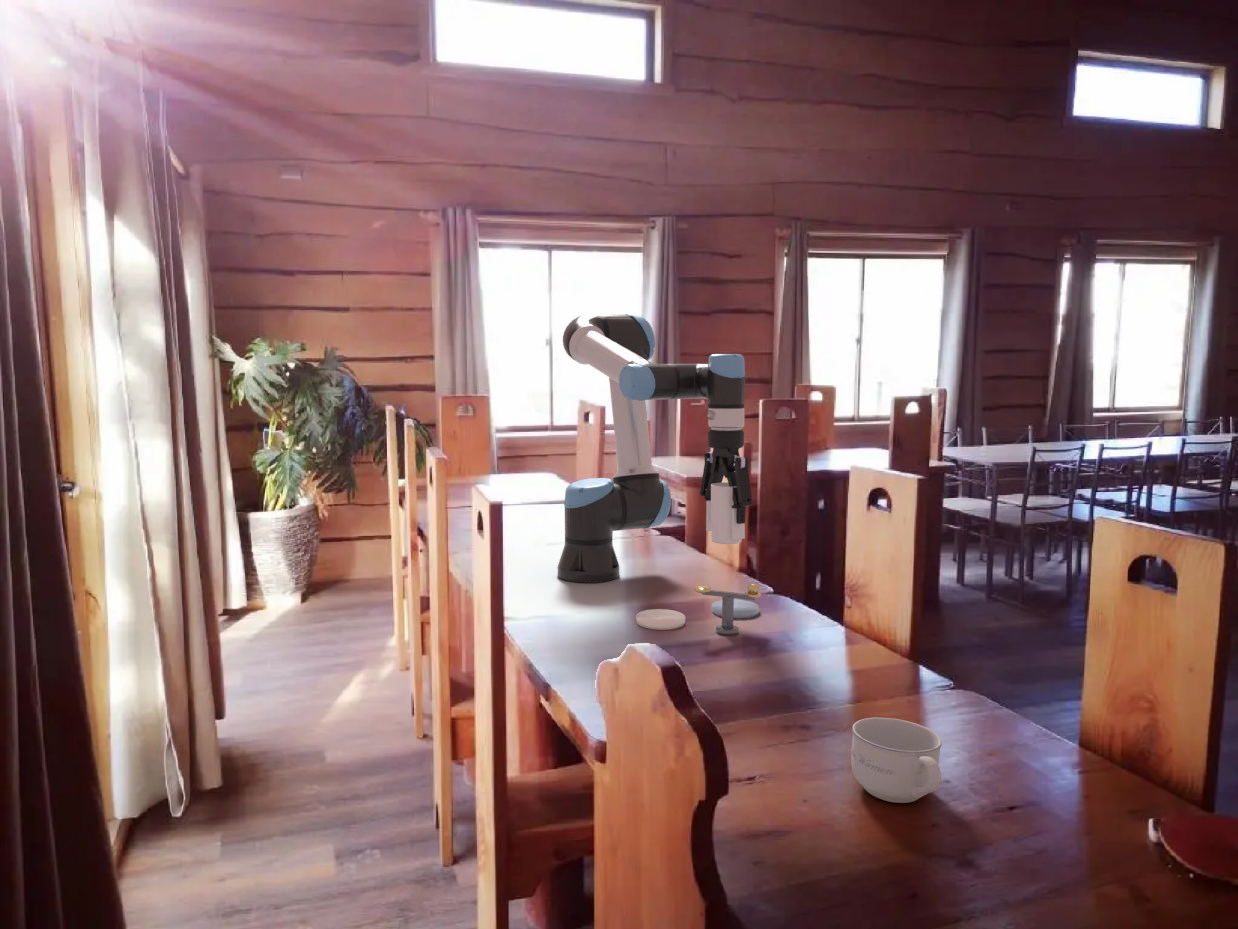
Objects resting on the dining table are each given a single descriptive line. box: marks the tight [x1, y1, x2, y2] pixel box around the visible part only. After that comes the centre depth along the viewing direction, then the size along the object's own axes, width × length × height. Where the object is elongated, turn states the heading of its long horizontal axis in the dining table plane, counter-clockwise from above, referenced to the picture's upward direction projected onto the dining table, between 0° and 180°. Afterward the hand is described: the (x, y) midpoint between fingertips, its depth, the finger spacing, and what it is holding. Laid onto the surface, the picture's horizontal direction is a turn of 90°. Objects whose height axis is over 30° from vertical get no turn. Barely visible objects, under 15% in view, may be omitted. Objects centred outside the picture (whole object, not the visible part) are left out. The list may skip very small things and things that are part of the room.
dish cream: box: [635, 608, 686, 631], centre depth 181 cm, size 10×10×1 cm
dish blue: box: [711, 598, 760, 619], centre depth 189 cm, size 10×10×1 cm
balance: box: [694, 582, 762, 637], centre depth 175 cm, size 4×15×10 cm, turn 116°
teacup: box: [850, 716, 943, 804], centre depth 111 cm, size 14×11×8 cm
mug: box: [711, 481, 743, 545], centre depth 187 cm, size 10×7×12 cm, turn 9°
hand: (724, 534), depth 187 cm, fingers closed on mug, 10 cm apart
